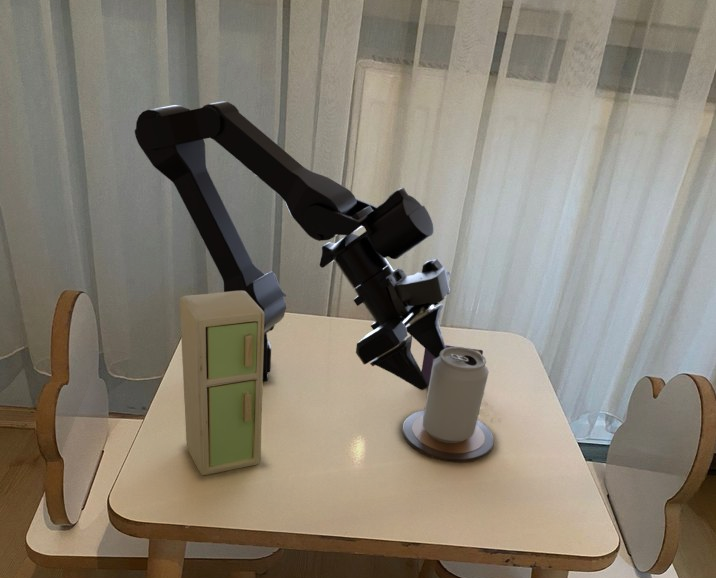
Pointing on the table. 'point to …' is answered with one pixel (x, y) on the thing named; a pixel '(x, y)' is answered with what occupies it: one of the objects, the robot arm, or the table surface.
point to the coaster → (445, 451)
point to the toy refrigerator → (222, 379)
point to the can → (455, 394)
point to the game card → (429, 361)
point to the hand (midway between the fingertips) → (435, 374)
